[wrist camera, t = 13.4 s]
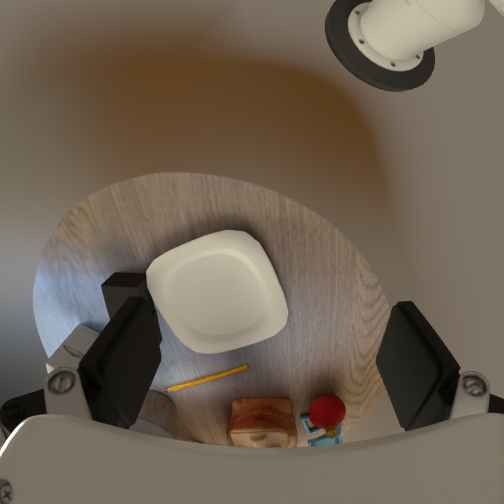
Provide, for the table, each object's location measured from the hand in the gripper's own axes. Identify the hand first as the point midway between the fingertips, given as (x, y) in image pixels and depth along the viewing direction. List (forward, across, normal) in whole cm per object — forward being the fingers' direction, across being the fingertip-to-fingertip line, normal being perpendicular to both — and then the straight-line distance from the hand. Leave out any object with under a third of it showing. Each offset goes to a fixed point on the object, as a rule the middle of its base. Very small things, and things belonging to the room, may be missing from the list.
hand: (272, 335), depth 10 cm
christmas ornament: (+26, -13, +37) cm, 47 cm away
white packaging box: (+25, +32, +26) cm, 48 cm away
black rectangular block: (+25, +20, +14) cm, 35 cm away
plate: (+26, +7, +14) cm, 30 cm away
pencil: (+25, +10, +32) cm, 42 cm away
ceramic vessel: (+25, 0, +45) cm, 51 cm away
